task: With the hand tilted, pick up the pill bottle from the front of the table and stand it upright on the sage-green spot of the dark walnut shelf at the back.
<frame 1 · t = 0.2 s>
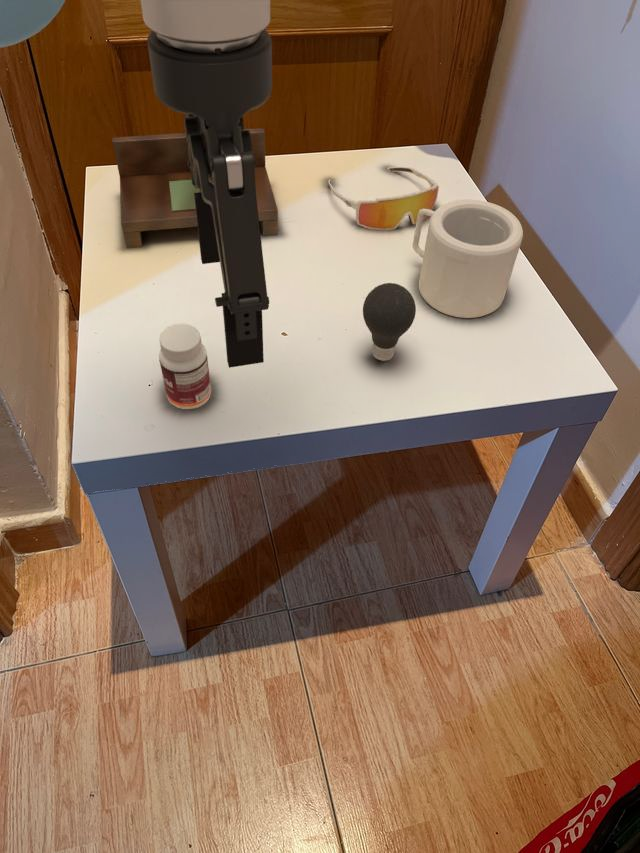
hand: (230, 307, 57), 17 cm above the table, tool pointing down, fingers open, 13 cm apart
shelf: (199, 216, 95), on the table
light bulb: (382, 359, 79), on the table
mug: (451, 288, 87), on the table
sunglasses: (381, 203, 99), on the table
pill bottle: (189, 395, 74), on the table
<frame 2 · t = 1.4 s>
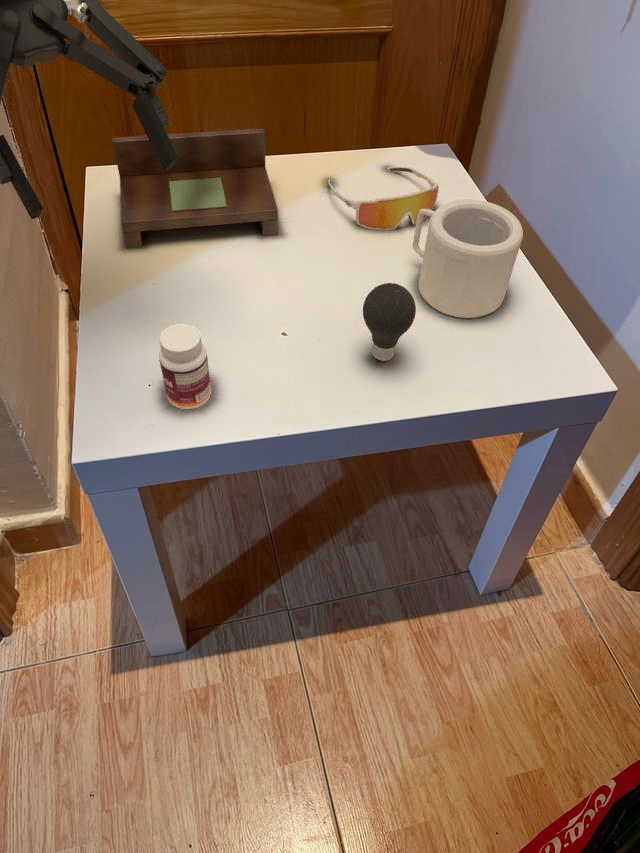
hand: (107, 188, 63), 20 cm above the table, tool tilted 45°, fingers open, 13 cm apart
nothing on the table moved.
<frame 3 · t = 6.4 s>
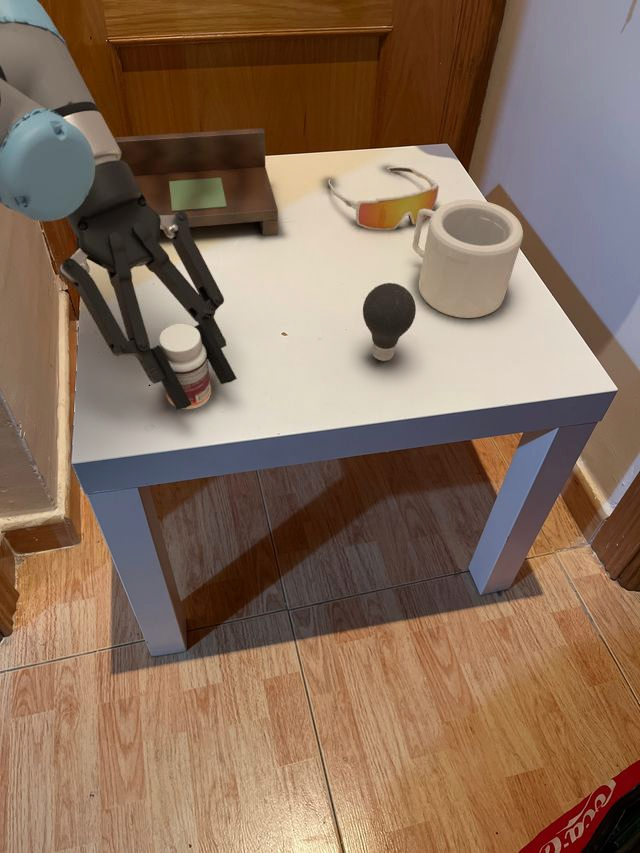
hand: (206, 393, 70), 3 cm above the table, tool tilted 45°, fingers closed on pill bottle, 5 cm apart
pill bottle: (189, 395, 74), on the table, touching gripper
everything else where it was.
when the fingers open (7 cm above the table, at t = 15.7 s): pill bottle stays where it is, resting on shelf.
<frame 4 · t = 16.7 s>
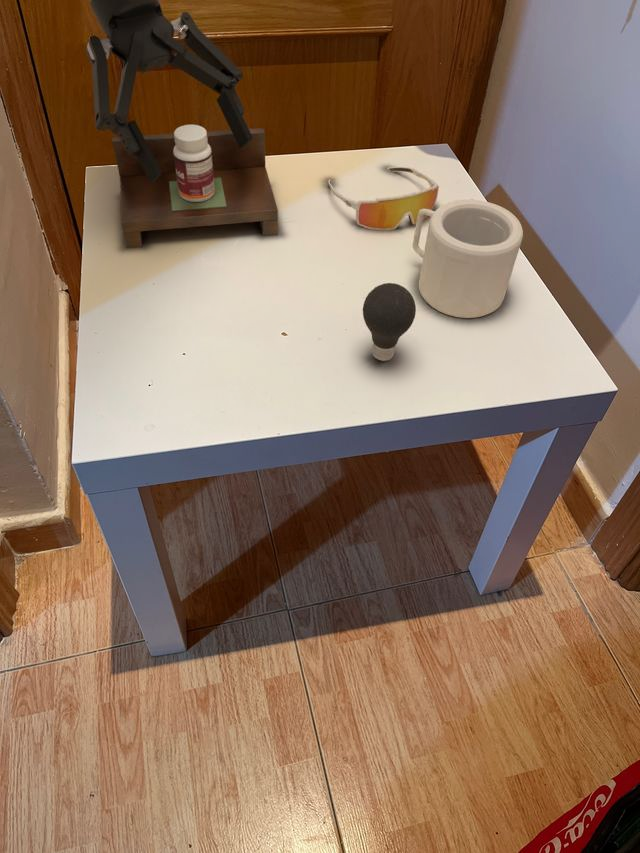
hand: (203, 160, 86), 10 cm above the table, tool tilted 45°, fingers open, 13 cm apart
pill bottle: (197, 194, 91), point 4 cm above the table, touching shelf
everything else where it was.
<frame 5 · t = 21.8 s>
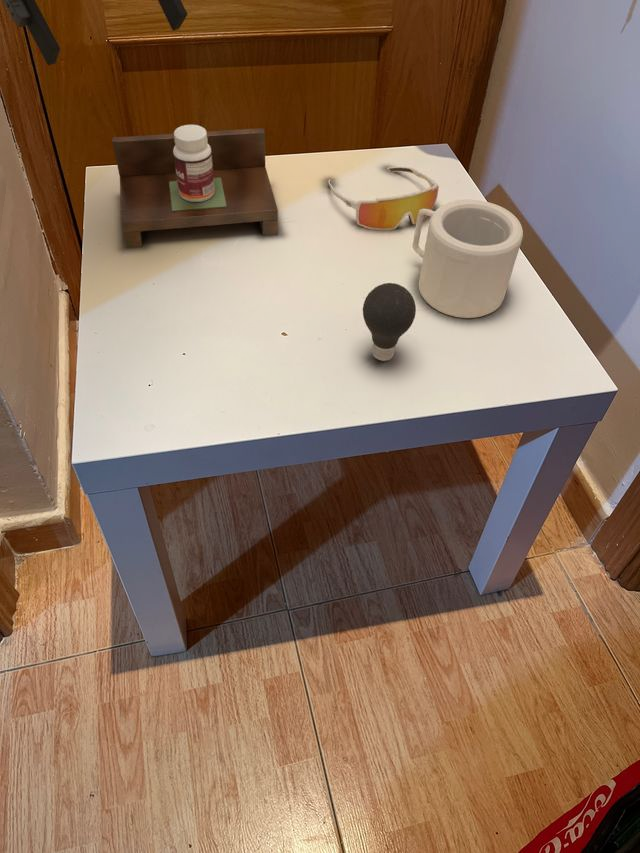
hand: (120, 39, 65), 28 cm above the table, tool tilted 45°, fingers open, 13 cm apart
nothing on the table moved.
at the end: pill bottle inside the target area on the shelf (0.0 cm from its centre), point 4.0 cm above the shelf's base; pill bottle tilted 0°; the gripper is holding nothing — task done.
